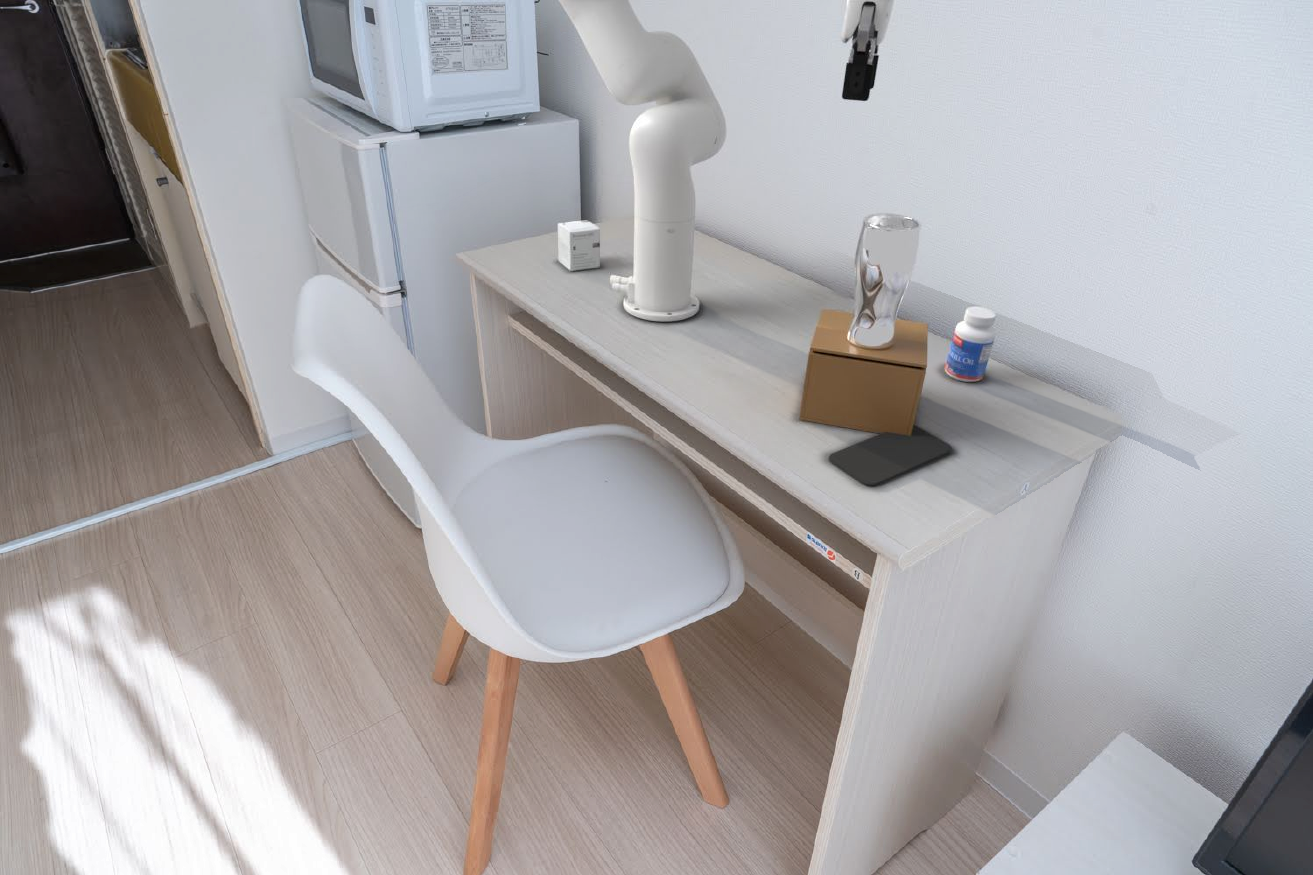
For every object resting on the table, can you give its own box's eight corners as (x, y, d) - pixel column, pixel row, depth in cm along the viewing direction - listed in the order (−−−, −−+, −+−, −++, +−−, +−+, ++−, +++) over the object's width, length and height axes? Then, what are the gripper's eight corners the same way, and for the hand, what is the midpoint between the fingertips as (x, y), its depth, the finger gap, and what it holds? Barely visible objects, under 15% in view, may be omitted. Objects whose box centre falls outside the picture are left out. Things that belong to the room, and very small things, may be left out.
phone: (824, 455, 96) (909, 421, 103) (823, 461, 96) (908, 427, 104) (870, 486, 91) (956, 448, 98) (869, 492, 91) (955, 454, 98)
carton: (811, 375, 114) (821, 308, 109) (912, 391, 111) (928, 323, 106) (798, 419, 104) (809, 347, 98) (910, 438, 100) (927, 365, 95)
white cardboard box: (570, 272, 146) (569, 232, 142) (558, 261, 150) (556, 222, 146) (600, 267, 148) (600, 228, 144) (587, 257, 153) (587, 218, 149)
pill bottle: (936, 372, 116) (952, 309, 111) (957, 362, 119) (973, 301, 114) (970, 386, 113) (987, 323, 108) (990, 376, 116) (1008, 313, 111)
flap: (821, 311, 109) (822, 308, 109) (927, 326, 106) (927, 323, 106) (815, 330, 104) (816, 327, 104) (926, 346, 101) (927, 343, 100)
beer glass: (899, 354, 97) (925, 233, 89) (841, 347, 98) (862, 227, 90) (896, 331, 103) (921, 215, 95) (841, 325, 104) (861, 210, 96)
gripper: (855, -66, 100) (835, 82, 109) (842, -68, 86) (820, 102, 95) (917, -64, 99) (891, 86, 108) (914, -65, 84) (884, 107, 94)
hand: (858, 93), depth 101 cm, fingers open, 9 cm apart
